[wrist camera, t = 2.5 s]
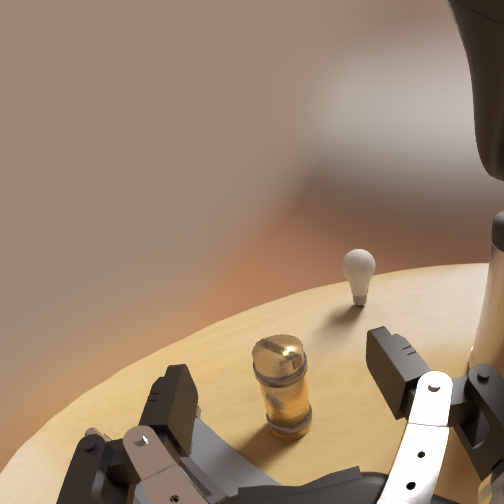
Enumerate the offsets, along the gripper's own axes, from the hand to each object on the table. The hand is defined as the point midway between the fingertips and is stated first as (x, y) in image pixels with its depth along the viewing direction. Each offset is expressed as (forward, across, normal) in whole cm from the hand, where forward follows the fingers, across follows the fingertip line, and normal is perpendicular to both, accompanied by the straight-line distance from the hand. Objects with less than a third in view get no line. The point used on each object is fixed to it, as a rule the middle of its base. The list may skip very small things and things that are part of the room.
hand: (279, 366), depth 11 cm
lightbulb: (+35, -17, +20) cm, 43 cm away
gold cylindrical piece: (+11, 0, +20) cm, 22 cm away
